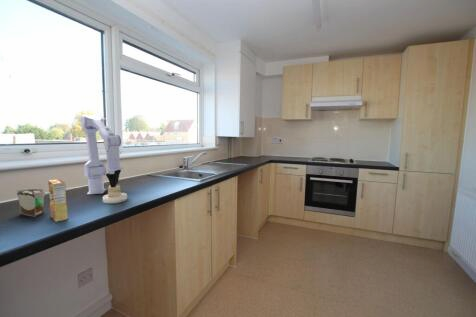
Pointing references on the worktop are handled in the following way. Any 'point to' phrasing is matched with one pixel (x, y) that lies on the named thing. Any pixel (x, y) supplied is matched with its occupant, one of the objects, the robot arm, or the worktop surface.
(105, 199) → the ceramic plinth
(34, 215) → the food container
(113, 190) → the beech block
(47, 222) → the worktop surface
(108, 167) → the robot arm
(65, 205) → the candy box
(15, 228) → the worktop surface
